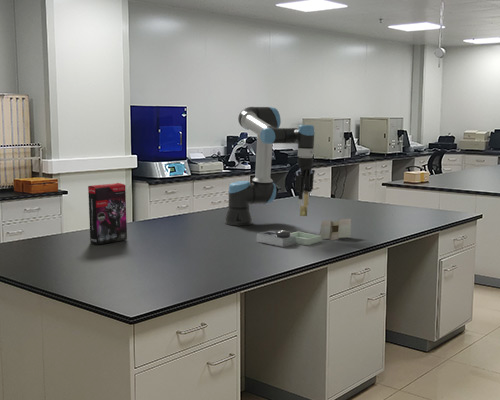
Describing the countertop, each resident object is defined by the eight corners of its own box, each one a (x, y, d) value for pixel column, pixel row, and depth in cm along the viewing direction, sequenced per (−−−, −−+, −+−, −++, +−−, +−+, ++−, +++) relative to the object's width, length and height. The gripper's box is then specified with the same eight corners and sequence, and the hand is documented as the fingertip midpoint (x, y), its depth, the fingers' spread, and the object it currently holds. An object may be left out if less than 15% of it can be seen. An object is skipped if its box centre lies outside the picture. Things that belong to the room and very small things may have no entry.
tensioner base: (256, 241, 296) (256, 228, 295) (269, 238, 304) (269, 225, 303) (282, 247, 286) (283, 233, 285) (295, 243, 293) (295, 230, 292)
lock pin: (298, 215, 297) (299, 191, 295) (302, 214, 300) (303, 190, 298) (304, 216, 295) (305, 191, 293) (308, 215, 297) (309, 191, 296)
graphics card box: (96, 245, 280) (95, 187, 275) (88, 243, 284) (87, 185, 280) (127, 240, 292) (127, 184, 288) (118, 238, 297) (118, 182, 292)
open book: (354, 247, 307) (354, 224, 317) (351, 237, 301) (351, 213, 310) (321, 249, 312) (322, 226, 321) (318, 239, 305) (319, 216, 315)
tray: (283, 240, 299) (283, 234, 299) (298, 237, 308) (298, 231, 308) (306, 245, 290) (307, 239, 290) (321, 241, 299) (321, 235, 299)
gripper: (301, 158, 284) (299, 208, 288) (321, 156, 297) (319, 204, 300) (288, 157, 289) (287, 206, 293) (309, 155, 302) (307, 202, 305)
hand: (303, 205), depth 296 cm, fingers closed on lock pin, 3 cm apart
